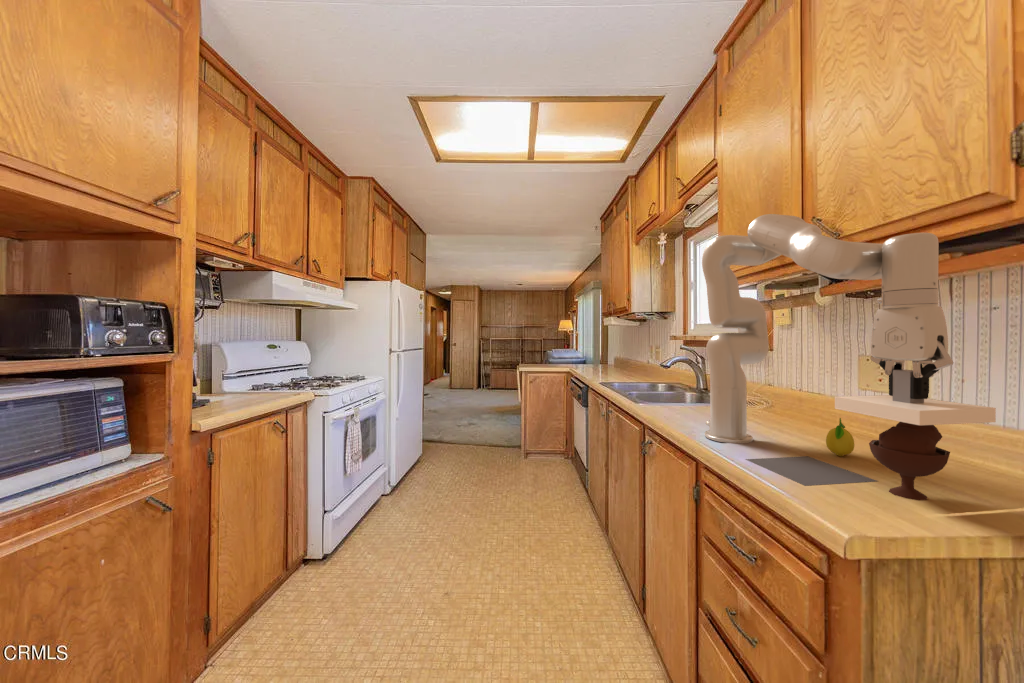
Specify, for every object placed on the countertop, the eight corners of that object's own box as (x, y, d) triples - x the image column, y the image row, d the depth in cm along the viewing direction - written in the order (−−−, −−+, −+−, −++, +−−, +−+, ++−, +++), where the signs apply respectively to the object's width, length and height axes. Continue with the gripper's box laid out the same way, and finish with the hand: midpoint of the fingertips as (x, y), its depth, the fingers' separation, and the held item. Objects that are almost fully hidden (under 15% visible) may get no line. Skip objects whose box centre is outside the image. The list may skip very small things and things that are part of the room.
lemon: (840, 452, 102) (841, 414, 101) (863, 459, 96) (863, 419, 96) (817, 453, 101) (817, 415, 101) (838, 461, 95) (838, 420, 95)
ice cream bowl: (887, 482, 81) (887, 410, 81) (964, 503, 71) (964, 421, 71) (856, 489, 78) (856, 415, 77) (932, 513, 67) (933, 427, 67)
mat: (745, 460, 96) (745, 459, 96) (807, 457, 98) (807, 456, 98) (805, 487, 79) (805, 485, 79) (878, 483, 81) (878, 481, 81)
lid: (834, 408, 81) (834, 367, 81) (898, 406, 83) (898, 366, 82) (919, 425, 66) (919, 375, 66) (995, 422, 67) (995, 373, 67)
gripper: (849, 304, 81) (848, 391, 82) (944, 296, 65) (943, 405, 66) (880, 304, 82) (880, 390, 83) (982, 296, 66) (981, 404, 66)
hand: (908, 396), depth 74 cm, fingers closed on lid, 2 cm apart
